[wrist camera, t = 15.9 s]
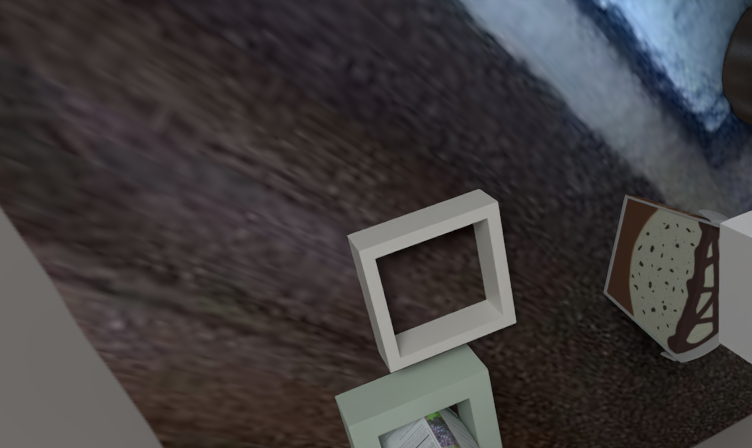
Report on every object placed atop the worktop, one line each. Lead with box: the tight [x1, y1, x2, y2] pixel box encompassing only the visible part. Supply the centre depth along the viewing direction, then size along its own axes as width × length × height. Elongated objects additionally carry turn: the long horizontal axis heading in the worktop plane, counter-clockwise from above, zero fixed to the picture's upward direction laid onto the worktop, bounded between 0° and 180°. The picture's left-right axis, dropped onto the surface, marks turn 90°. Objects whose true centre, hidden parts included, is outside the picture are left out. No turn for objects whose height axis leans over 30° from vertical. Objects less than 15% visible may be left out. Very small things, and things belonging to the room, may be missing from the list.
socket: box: [335, 344, 502, 448], centre depth 56 cm, size 12×12×4 cm
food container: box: [604, 195, 729, 362], centre depth 54 cm, size 12×6×10 cm, turn 176°
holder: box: [347, 189, 516, 373], centre depth 51 cm, size 11×11×3 cm
